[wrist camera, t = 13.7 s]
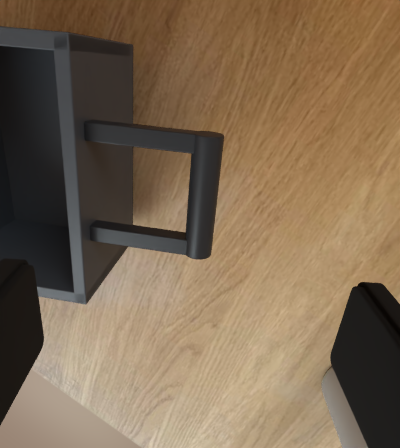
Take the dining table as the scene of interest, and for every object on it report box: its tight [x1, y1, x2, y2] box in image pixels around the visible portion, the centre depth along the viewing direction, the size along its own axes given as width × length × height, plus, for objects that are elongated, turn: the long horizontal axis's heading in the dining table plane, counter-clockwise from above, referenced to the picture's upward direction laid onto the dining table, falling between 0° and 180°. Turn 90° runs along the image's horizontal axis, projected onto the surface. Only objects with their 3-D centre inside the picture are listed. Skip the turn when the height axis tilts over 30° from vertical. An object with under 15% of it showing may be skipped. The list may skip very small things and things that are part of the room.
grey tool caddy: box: [0, 26, 224, 304], centre depth 23 cm, size 18×15×9 cm
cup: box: [322, 367, 368, 448], centre depth 35 cm, size 7×10×9 cm
